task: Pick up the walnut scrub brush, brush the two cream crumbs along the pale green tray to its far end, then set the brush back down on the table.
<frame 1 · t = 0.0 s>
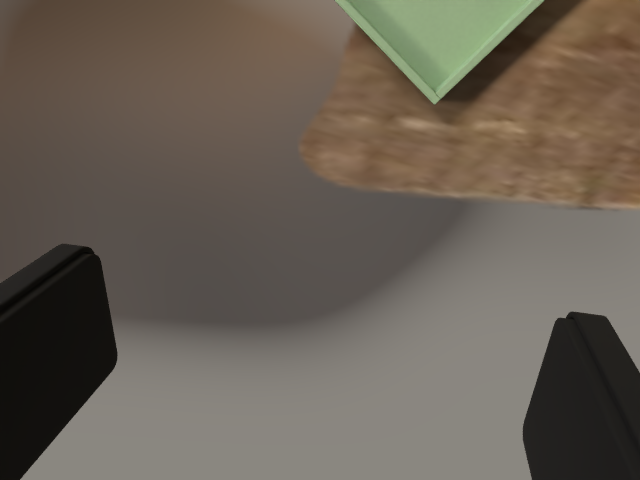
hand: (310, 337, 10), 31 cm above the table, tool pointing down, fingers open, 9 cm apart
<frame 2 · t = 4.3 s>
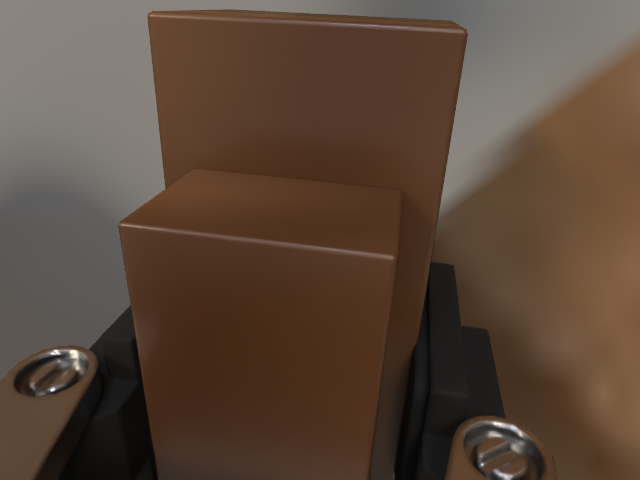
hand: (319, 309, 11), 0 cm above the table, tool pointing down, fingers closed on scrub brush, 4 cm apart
scrub brush: (322, 302, 11), on the table, touching gripper
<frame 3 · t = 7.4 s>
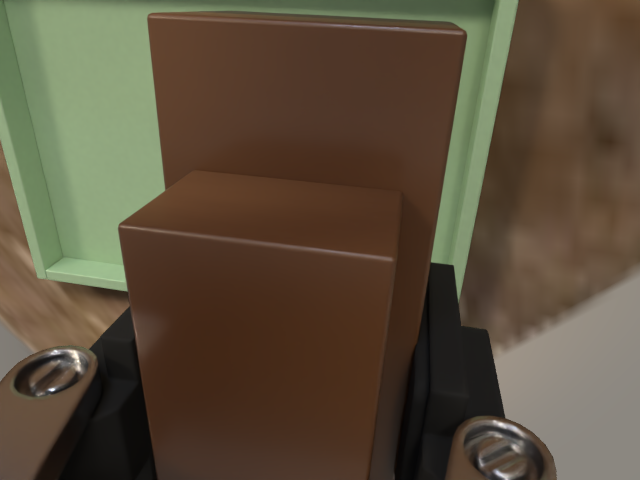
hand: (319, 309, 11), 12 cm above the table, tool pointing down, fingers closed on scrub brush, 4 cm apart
scrub brush: (322, 303, 11), point 11 cm above the table, touching gripper
tray: (237, 143, 22), on the table
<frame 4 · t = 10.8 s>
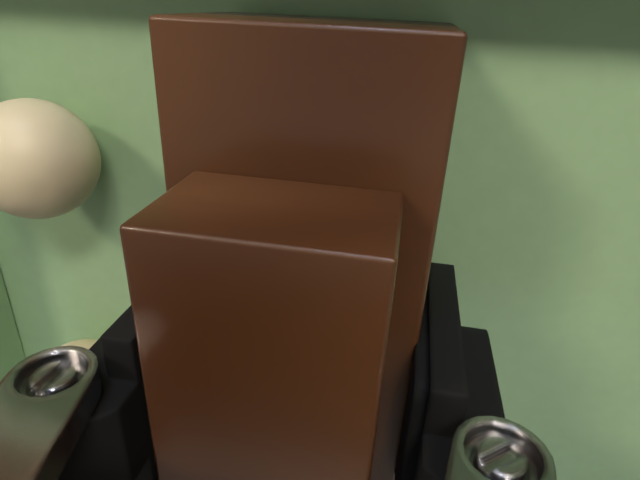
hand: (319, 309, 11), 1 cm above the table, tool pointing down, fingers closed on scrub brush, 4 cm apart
scrub brush: (322, 303, 11), point 1 cm above the table, touching gripper
crumb a: (36, 159, 10), point 2 cm above the table, tilted 28°, touching tray
tray: (382, 293, 12), on the table
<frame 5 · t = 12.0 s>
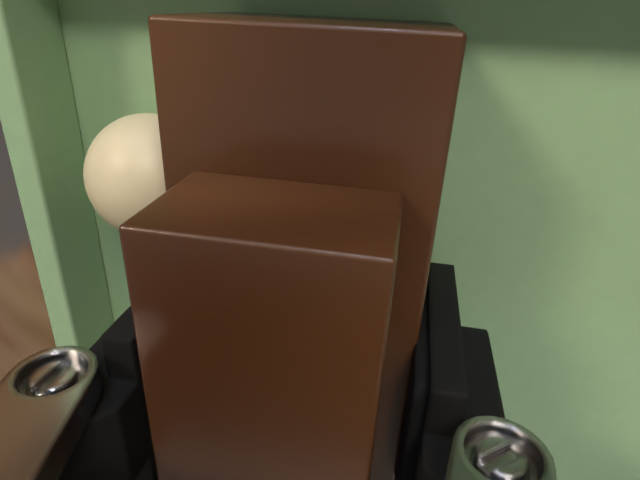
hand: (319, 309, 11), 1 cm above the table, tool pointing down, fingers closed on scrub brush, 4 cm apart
scrub brush: (322, 303, 11), point 1 cm above the table, touching gripper
crumb a: (152, 176, 9), point 2 cm above the table, tilted 56°, touching tray
tray: (519, 315, 11), on the table
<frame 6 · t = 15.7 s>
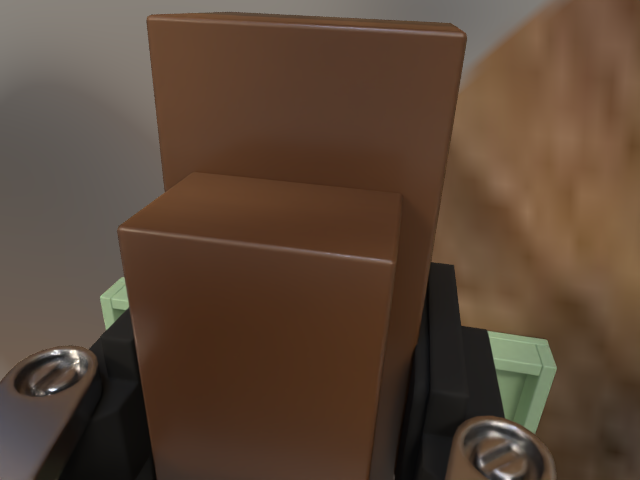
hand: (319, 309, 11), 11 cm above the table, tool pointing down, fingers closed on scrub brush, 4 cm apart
scrub brush: (322, 304, 11), point 10 cm above the table, touching gripper
tray: (314, 418, 27), on the table
when the fingers open (0 cm above the table, at t = 18.4 s): scrub brush stays where it is, on the table.
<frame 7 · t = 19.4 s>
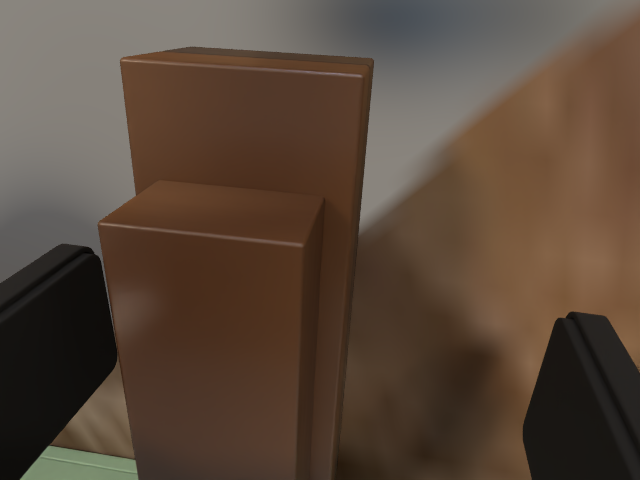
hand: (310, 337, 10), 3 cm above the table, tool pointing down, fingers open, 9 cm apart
scrub brush: (276, 294, 13), on the table
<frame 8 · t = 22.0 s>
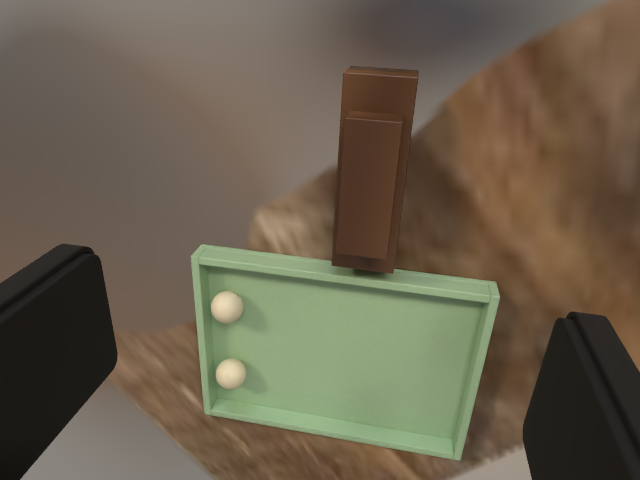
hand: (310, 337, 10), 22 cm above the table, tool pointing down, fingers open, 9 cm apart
scrub brush: (374, 166, 31), on the table
crumb a: (227, 307, 36), point 2 cm above the table, tilted 76°, touching tray
tray: (336, 347, 38), on the table
crumb b: (231, 373, 39), point 2 cm above the table, tilted 72°, touching tray
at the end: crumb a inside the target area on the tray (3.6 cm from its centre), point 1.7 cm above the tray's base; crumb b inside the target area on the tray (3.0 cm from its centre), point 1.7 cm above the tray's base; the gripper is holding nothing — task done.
